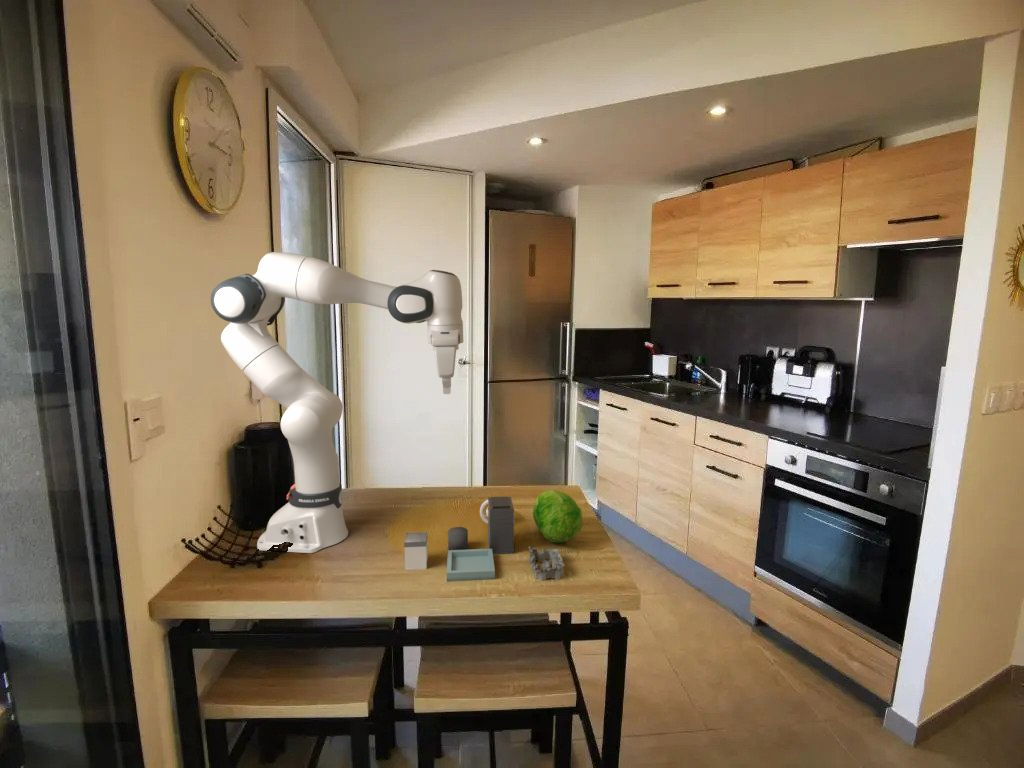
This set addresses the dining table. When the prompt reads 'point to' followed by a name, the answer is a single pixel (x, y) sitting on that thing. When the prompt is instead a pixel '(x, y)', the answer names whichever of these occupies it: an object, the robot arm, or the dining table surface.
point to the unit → (500, 525)
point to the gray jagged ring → (546, 563)
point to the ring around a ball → (482, 511)
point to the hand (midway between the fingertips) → (447, 390)
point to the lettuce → (557, 516)
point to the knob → (458, 538)
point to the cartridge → (416, 551)
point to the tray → (470, 565)
